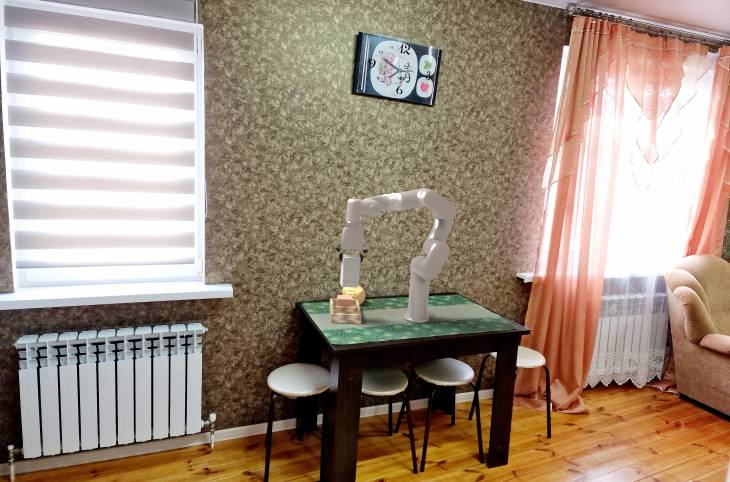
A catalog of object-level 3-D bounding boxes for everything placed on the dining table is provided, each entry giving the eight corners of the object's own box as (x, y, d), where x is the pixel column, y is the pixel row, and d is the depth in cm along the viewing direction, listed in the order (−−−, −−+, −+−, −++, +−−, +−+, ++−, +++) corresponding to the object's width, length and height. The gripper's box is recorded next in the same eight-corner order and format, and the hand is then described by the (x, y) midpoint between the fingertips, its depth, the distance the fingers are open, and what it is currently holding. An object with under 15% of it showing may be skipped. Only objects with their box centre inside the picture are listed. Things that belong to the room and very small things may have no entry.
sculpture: (338, 304, 247) (340, 285, 245) (348, 299, 258) (349, 280, 256) (358, 309, 243) (360, 288, 241) (367, 303, 254) (369, 283, 252)
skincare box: (356, 284, 225) (359, 254, 223) (358, 288, 219) (361, 257, 217) (339, 284, 223) (341, 253, 221) (341, 287, 218) (343, 256, 215)
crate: (356, 308, 243) (357, 299, 242) (361, 325, 219) (361, 315, 218) (329, 307, 241) (330, 298, 240) (331, 324, 217) (331, 314, 217)
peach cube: (350, 308, 240) (351, 295, 238) (351, 313, 233) (352, 299, 232) (336, 308, 239) (337, 294, 238) (337, 312, 232) (338, 299, 231)
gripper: (371, 225, 221) (368, 261, 224) (334, 223, 219) (331, 259, 222) (373, 228, 214) (369, 265, 217) (335, 225, 212) (332, 262, 215)
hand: (350, 262), depth 219 cm, fingers closed on skincare box, 8 cm apart
